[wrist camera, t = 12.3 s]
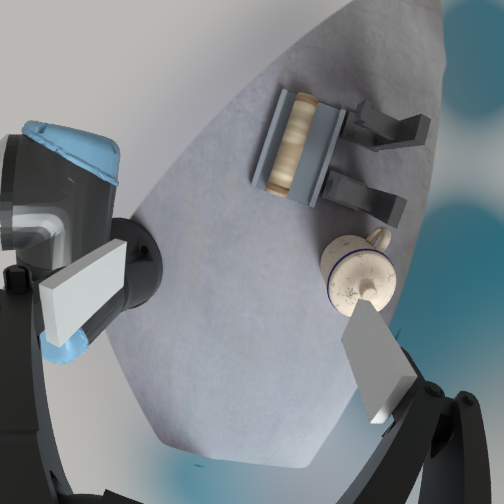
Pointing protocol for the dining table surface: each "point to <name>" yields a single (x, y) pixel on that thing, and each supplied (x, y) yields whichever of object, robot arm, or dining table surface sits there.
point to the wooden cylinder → (292, 144)
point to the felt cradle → (313, 152)
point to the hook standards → (374, 138)
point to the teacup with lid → (358, 271)
